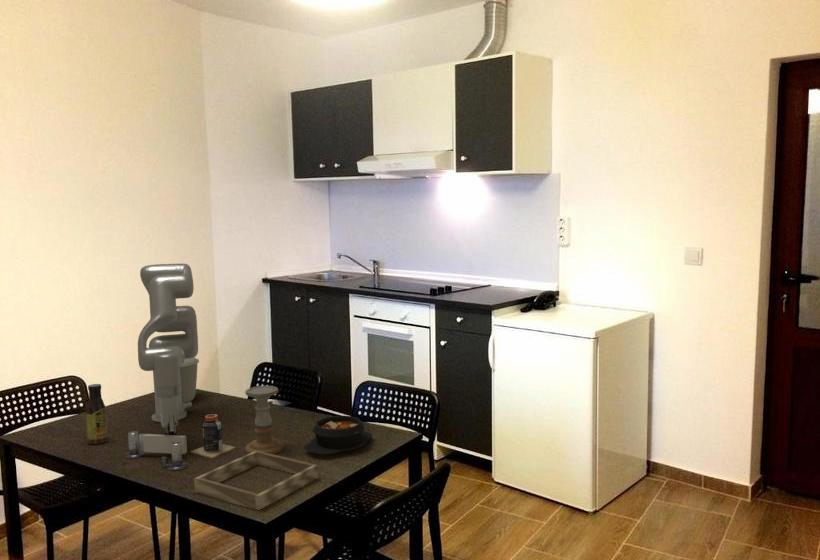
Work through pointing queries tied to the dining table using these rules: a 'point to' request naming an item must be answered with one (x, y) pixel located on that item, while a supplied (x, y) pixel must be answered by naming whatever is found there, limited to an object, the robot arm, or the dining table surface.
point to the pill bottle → (212, 433)
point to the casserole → (338, 435)
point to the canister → (188, 379)
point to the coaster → (213, 454)
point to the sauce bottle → (96, 416)
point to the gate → (160, 443)
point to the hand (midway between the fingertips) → (171, 444)
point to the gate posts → (175, 452)
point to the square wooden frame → (215, 489)
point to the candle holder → (263, 421)
